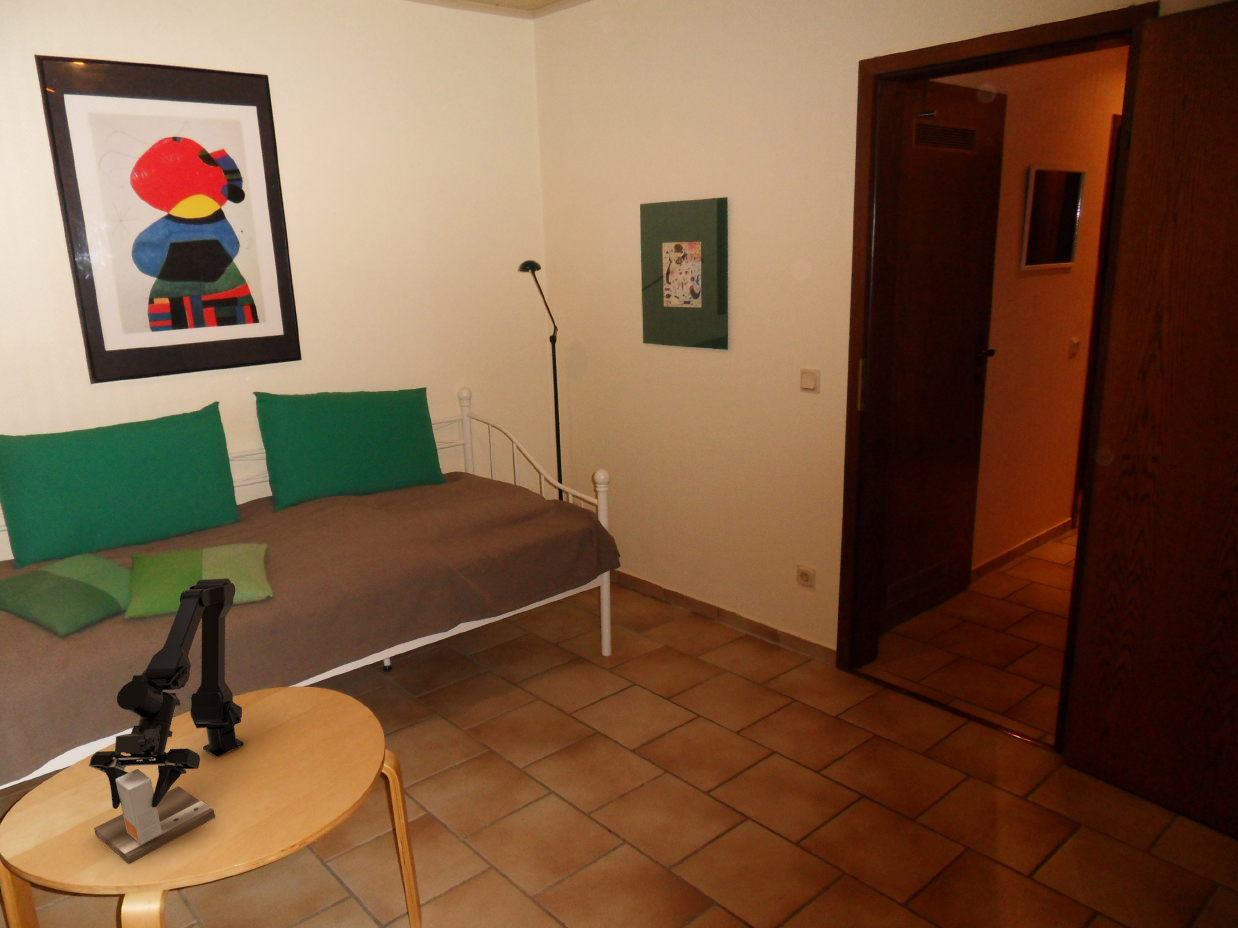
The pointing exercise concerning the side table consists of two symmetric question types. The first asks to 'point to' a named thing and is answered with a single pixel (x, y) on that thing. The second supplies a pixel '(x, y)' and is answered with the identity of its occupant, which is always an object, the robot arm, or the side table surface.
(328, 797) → the side table surface
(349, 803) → the side table surface
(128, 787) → the skincare box
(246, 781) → the side table surface
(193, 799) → the bent metal bracket plate
